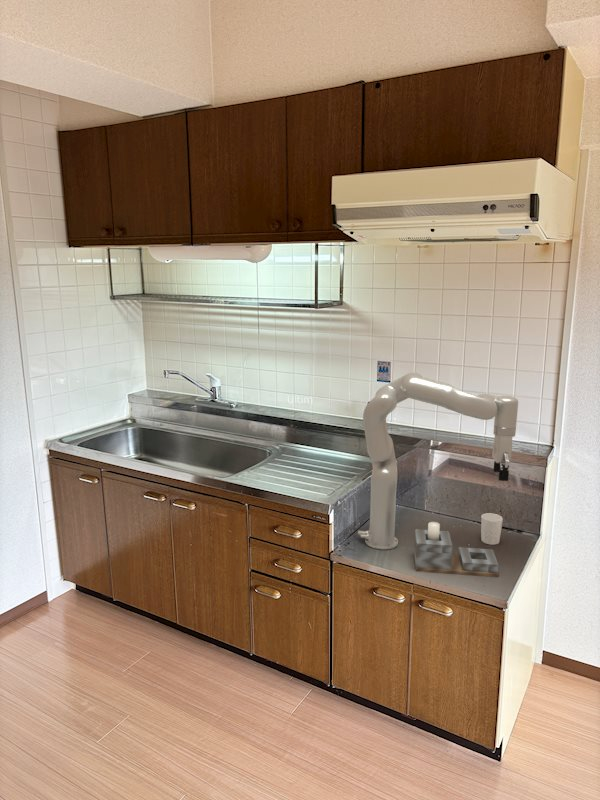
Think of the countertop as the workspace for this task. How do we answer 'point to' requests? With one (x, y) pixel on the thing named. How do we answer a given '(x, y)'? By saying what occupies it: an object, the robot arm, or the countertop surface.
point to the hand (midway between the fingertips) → (500, 476)
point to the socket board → (452, 557)
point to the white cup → (491, 528)
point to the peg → (433, 531)
